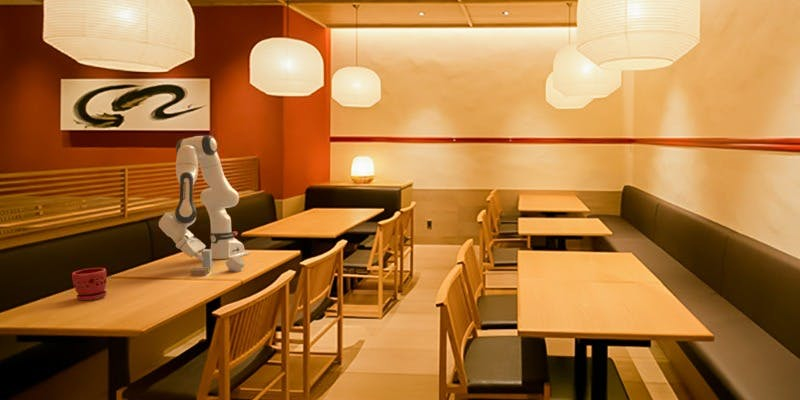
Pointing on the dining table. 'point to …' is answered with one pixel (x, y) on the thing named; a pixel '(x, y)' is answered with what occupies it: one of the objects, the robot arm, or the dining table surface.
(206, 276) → the mat
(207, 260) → the column
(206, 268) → the base block
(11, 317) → the dining table surface
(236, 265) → the die
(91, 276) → the plant pot
